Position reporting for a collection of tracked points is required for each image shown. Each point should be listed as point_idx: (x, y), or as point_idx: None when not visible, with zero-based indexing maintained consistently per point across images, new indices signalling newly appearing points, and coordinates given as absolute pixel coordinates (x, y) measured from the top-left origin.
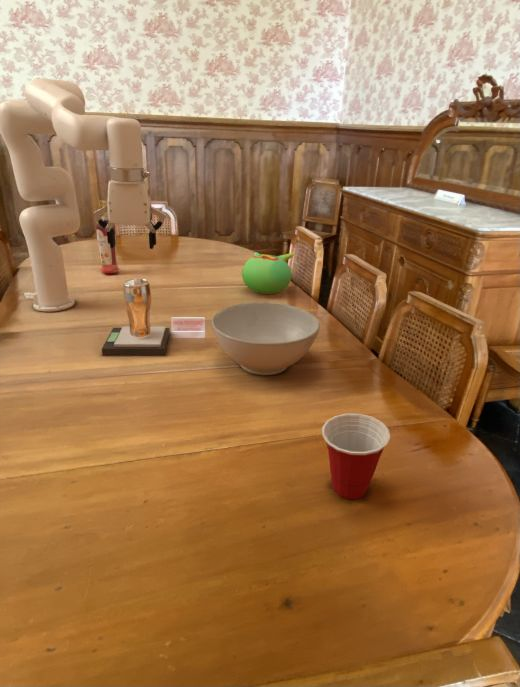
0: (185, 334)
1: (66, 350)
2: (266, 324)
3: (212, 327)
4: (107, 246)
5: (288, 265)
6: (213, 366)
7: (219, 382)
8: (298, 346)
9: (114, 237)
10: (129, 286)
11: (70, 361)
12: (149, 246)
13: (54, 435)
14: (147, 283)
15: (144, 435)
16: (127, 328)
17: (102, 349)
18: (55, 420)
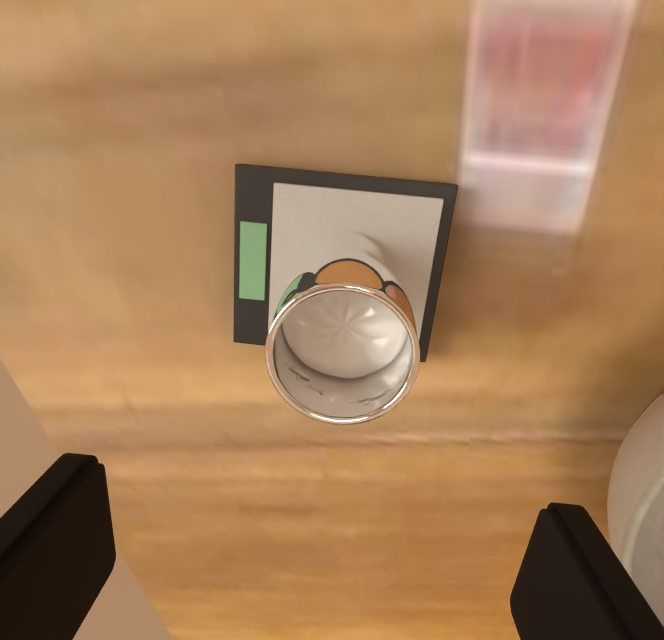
0: (511, 193)
1: (123, 287)
2: None
3: (619, 551)
4: None
5: None
6: (553, 429)
7: (547, 501)
8: None
9: (40, 572)
10: (308, 414)
11: (160, 358)
12: (517, 629)
13: (226, 607)
14: (409, 388)
15: (374, 627)
16: (294, 207)
17: (236, 341)
18: (213, 574)
